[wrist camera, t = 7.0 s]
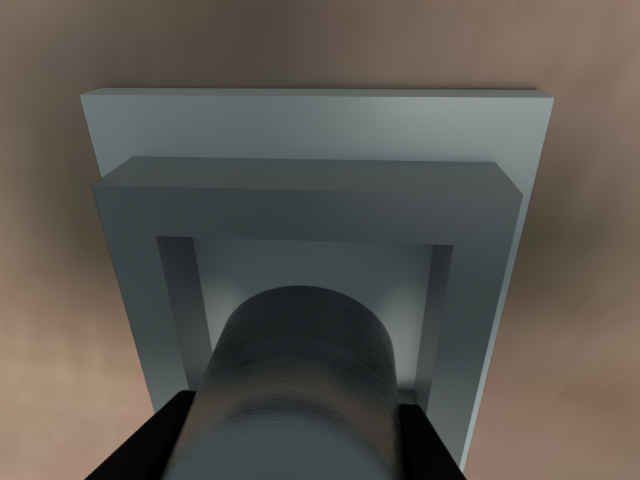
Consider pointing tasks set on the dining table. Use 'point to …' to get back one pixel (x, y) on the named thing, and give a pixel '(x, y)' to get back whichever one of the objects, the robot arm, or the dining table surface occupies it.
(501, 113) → the dock
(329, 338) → the lidded tin can
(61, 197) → the dining table surface
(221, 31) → the dining table surface
